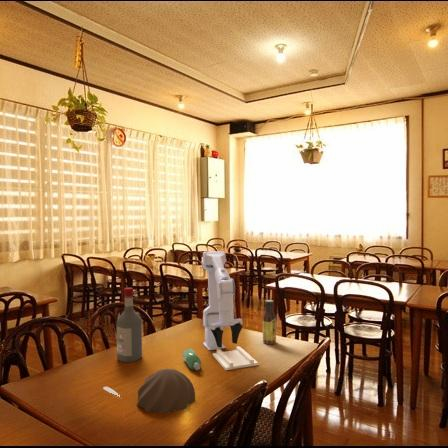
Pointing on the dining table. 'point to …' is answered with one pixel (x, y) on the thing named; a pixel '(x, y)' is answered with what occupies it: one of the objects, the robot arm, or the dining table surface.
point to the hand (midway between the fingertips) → (227, 345)
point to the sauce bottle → (269, 323)
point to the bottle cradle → (234, 359)
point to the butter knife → (111, 391)
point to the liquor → (129, 331)
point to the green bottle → (192, 359)
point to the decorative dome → (166, 392)
